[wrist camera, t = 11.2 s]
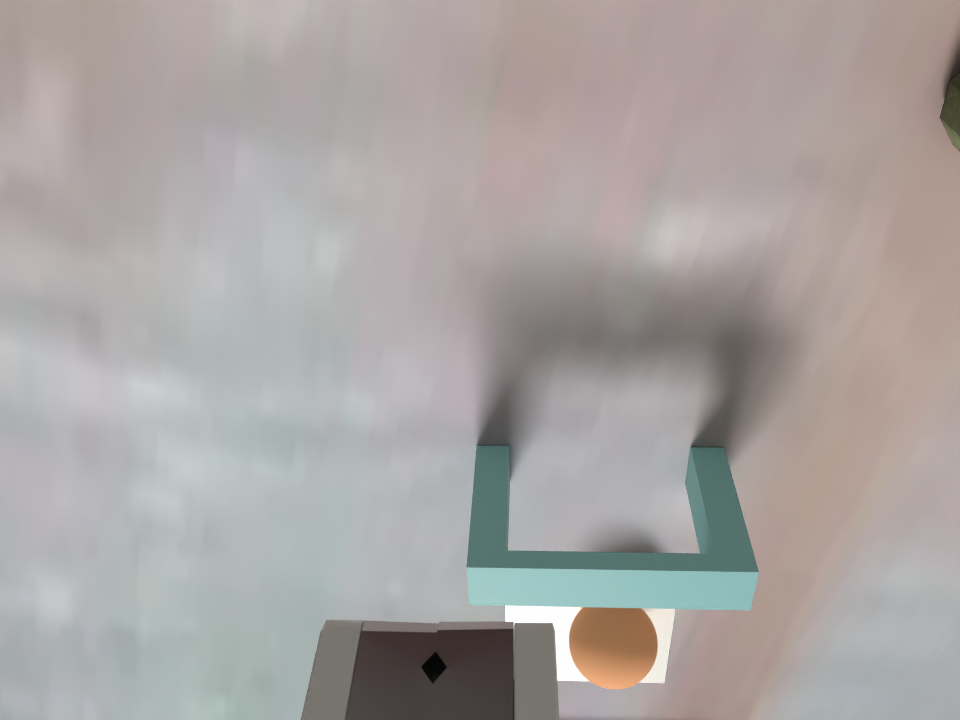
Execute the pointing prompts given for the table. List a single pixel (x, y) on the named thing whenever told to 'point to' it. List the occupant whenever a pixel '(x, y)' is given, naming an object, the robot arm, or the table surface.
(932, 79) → the table surface
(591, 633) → the ball
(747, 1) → the table surface
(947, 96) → the grenade
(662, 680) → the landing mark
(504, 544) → the bridge
